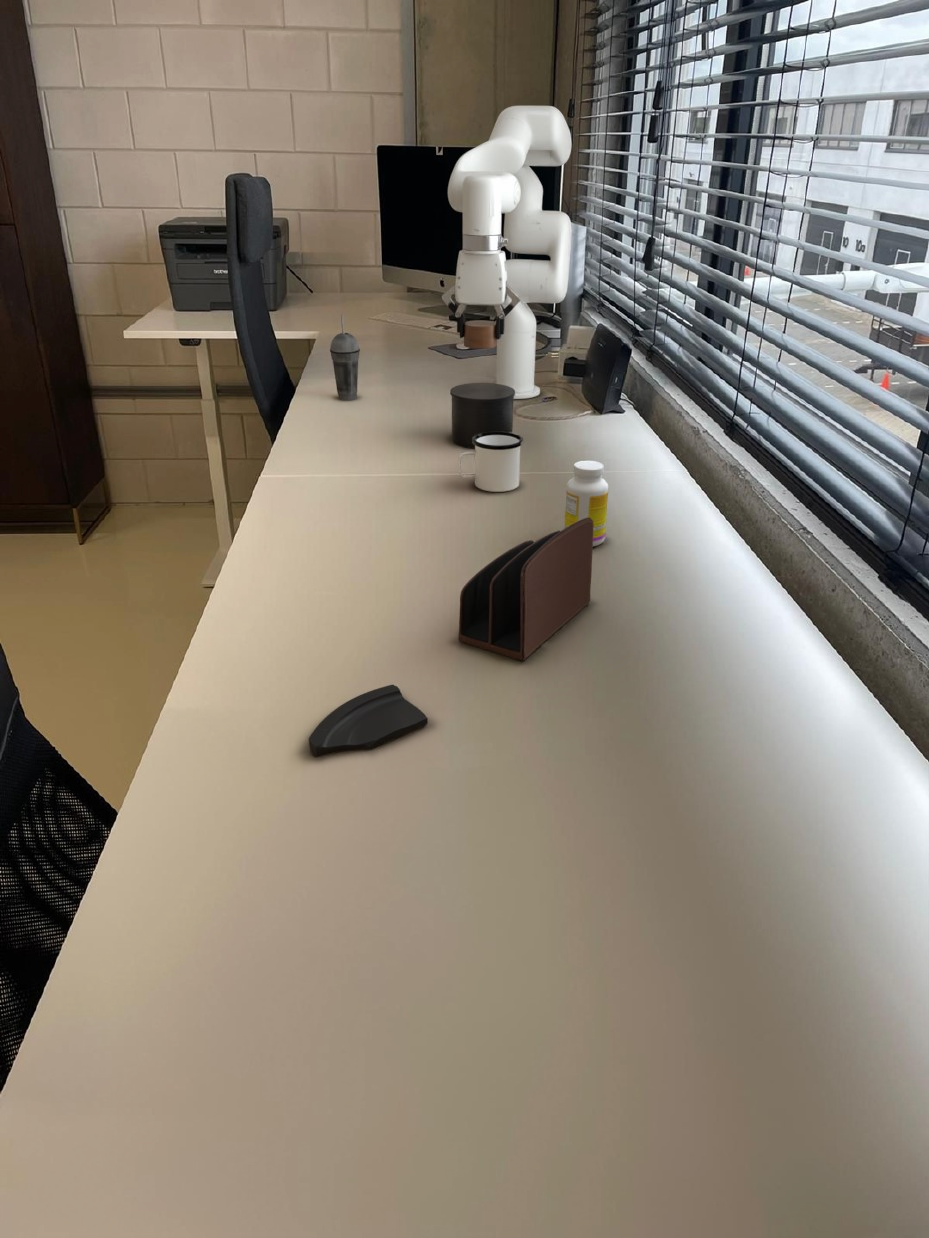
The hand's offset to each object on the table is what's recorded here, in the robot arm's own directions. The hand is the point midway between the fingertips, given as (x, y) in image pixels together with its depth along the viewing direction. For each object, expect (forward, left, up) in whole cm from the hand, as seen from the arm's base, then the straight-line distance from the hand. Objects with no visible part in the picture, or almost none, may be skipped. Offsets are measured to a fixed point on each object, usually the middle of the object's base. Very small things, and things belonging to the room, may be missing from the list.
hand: (480, 336), depth 193 cm
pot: (0, +1, -22) cm, 22 cm away
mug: (+28, +7, -22) cm, 36 cm away
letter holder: (+82, +20, -22) cm, 87 cm away
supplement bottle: (+52, +26, -22) cm, 62 cm away
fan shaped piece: (+109, +5, -22) cm, 112 cm away
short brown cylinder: (0, 0, -2) cm, 2 cm away
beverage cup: (-28, -37, -22) cm, 51 cm away
